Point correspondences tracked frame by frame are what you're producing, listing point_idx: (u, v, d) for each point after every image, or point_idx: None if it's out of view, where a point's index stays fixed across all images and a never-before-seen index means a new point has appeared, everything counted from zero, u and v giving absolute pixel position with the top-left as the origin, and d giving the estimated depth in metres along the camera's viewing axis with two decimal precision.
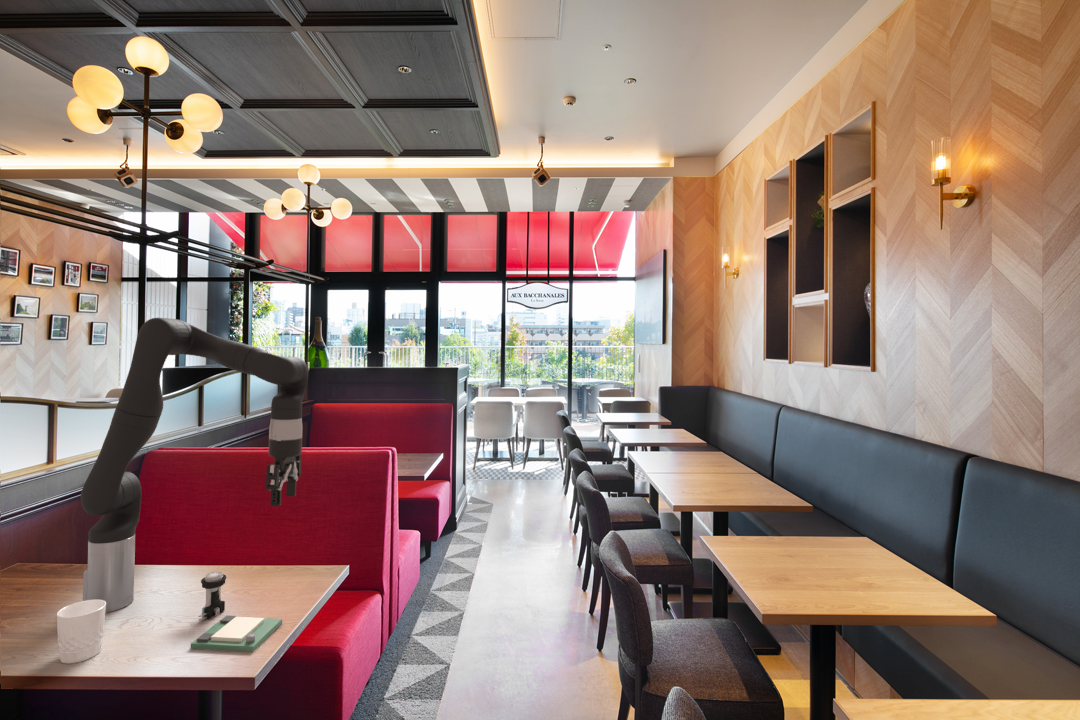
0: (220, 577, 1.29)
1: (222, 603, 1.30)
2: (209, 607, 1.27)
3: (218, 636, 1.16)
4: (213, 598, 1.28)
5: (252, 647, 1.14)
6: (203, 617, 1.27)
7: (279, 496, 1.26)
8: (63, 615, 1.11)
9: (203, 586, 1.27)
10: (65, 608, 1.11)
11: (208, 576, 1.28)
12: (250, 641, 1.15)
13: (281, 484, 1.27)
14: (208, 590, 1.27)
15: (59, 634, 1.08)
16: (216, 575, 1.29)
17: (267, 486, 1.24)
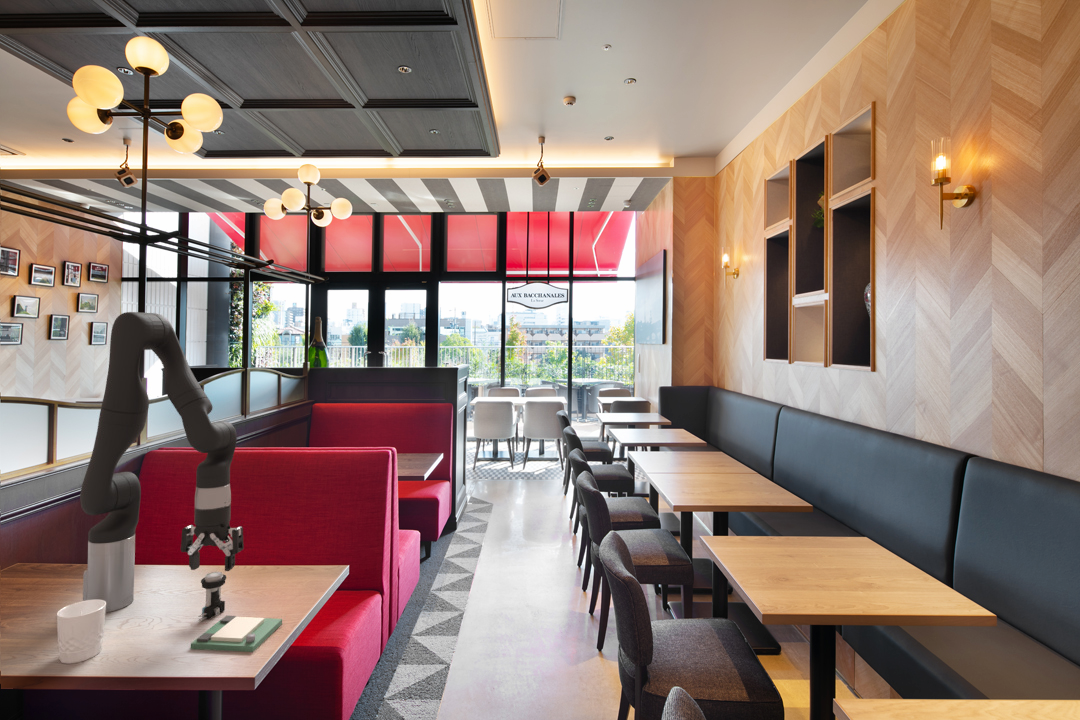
0: (220, 577, 1.29)
1: (222, 603, 1.30)
2: (209, 607, 1.27)
3: (218, 636, 1.16)
4: (213, 598, 1.28)
5: (252, 647, 1.14)
6: (203, 617, 1.27)
7: None
8: (63, 615, 1.11)
9: (203, 586, 1.27)
10: (65, 608, 1.11)
11: (208, 576, 1.28)
12: (250, 641, 1.15)
13: None
14: (208, 590, 1.27)
15: (59, 634, 1.08)
16: (216, 575, 1.29)
17: (238, 549, 1.27)
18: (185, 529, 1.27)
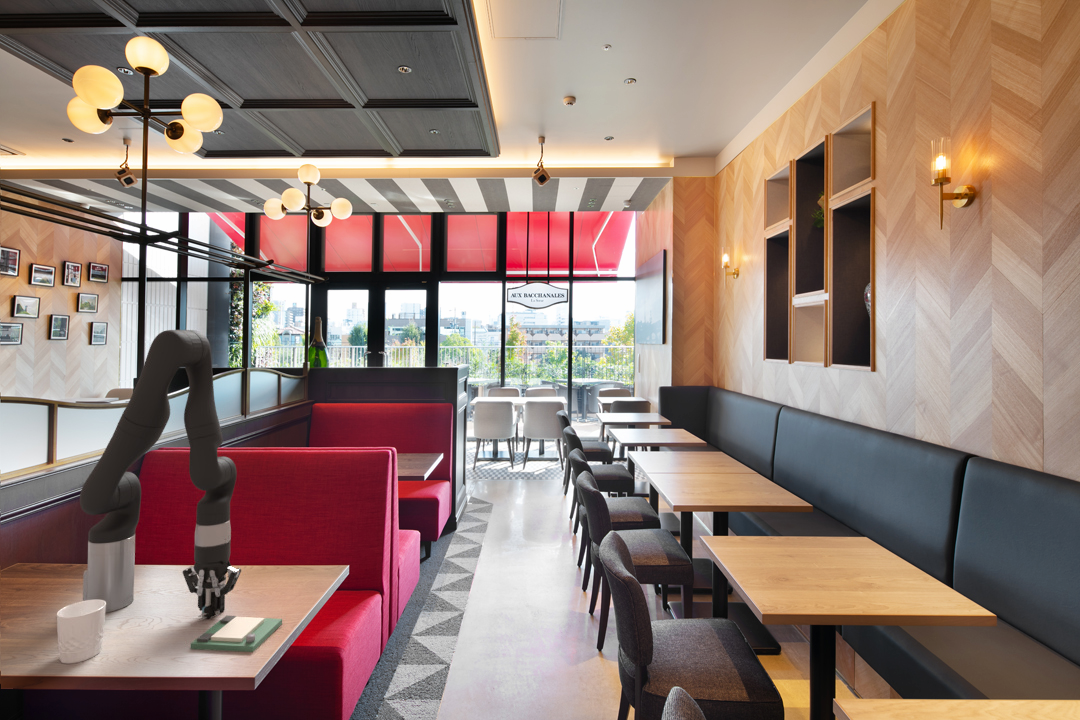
0: None
1: None
2: (209, 607, 1.27)
3: (218, 636, 1.16)
4: (213, 598, 1.28)
5: (252, 647, 1.14)
6: (203, 617, 1.27)
7: None
8: (63, 615, 1.11)
9: (203, 586, 1.27)
10: (65, 608, 1.11)
11: None
12: (250, 641, 1.15)
13: None
14: (208, 590, 1.27)
15: (59, 634, 1.08)
16: None
17: (228, 591, 1.27)
18: (185, 571, 1.27)
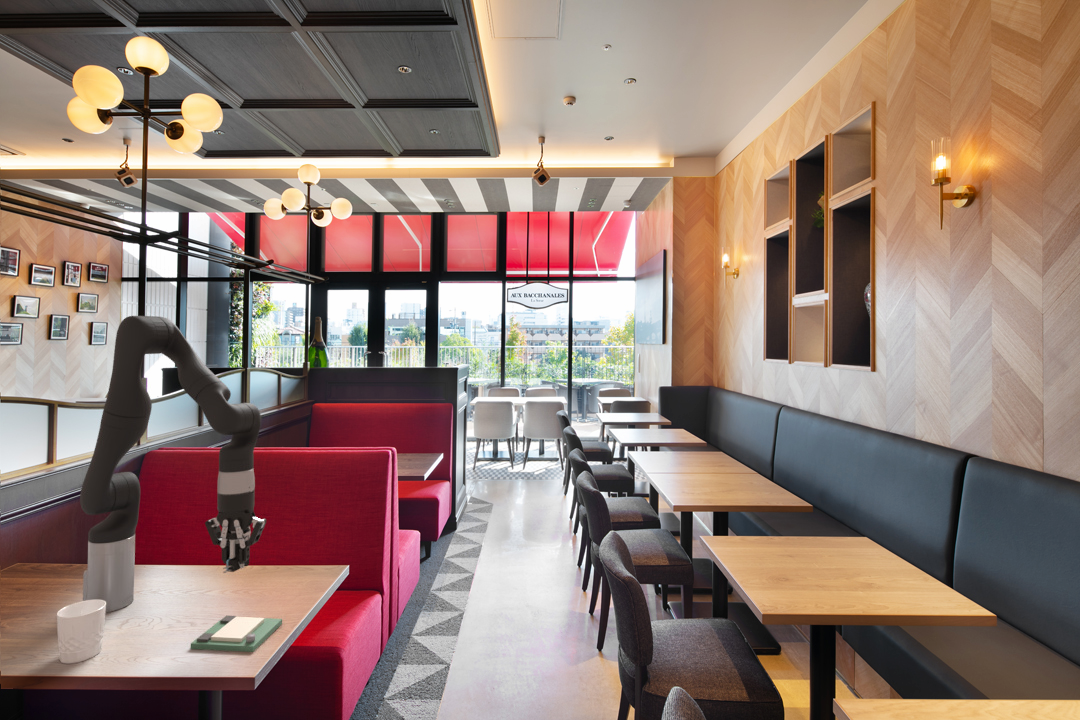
0: None
1: None
2: (233, 559, 1.21)
3: (218, 636, 1.16)
4: (237, 550, 1.22)
5: (252, 647, 1.14)
6: (227, 570, 1.20)
7: None
8: (63, 615, 1.11)
9: (227, 537, 1.21)
10: (65, 608, 1.11)
11: None
12: (250, 641, 1.15)
13: None
14: (232, 541, 1.21)
15: (59, 634, 1.08)
16: None
17: (253, 542, 1.21)
18: (208, 522, 1.21)
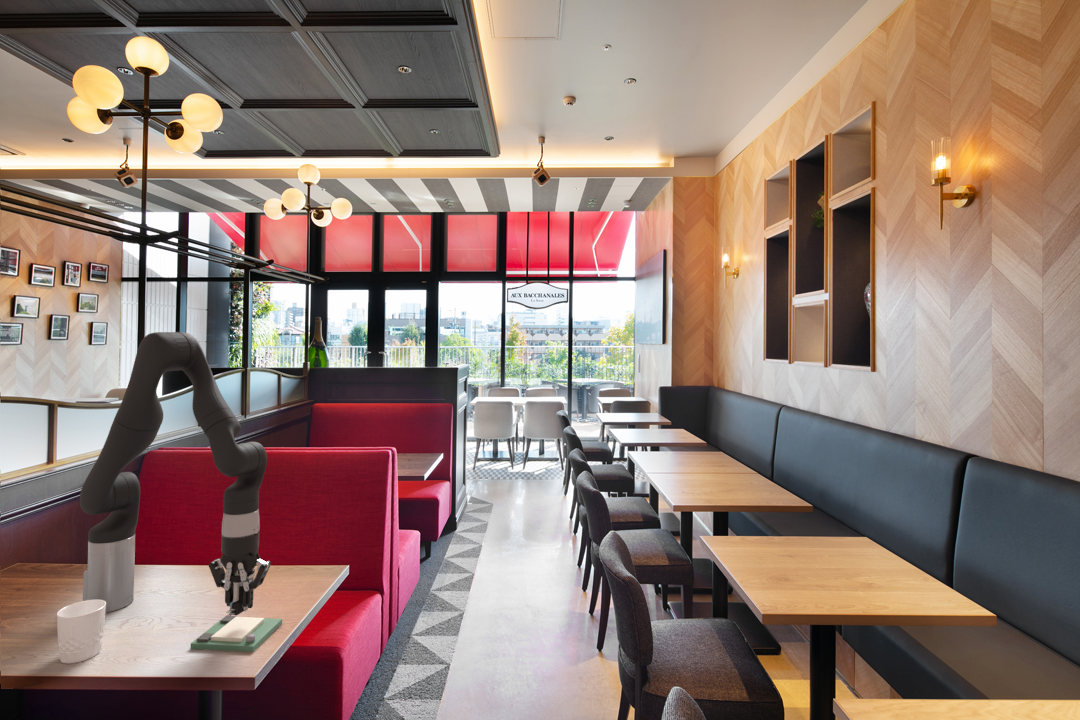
0: None
1: None
2: (237, 602, 1.19)
3: (218, 636, 1.16)
4: (241, 593, 1.20)
5: (252, 647, 1.14)
6: (231, 613, 1.18)
7: None
8: (63, 615, 1.11)
9: (230, 580, 1.19)
10: (65, 608, 1.11)
11: None
12: (250, 641, 1.15)
13: None
14: (236, 584, 1.19)
15: (59, 634, 1.08)
16: None
17: (257, 585, 1.19)
18: (211, 563, 1.19)
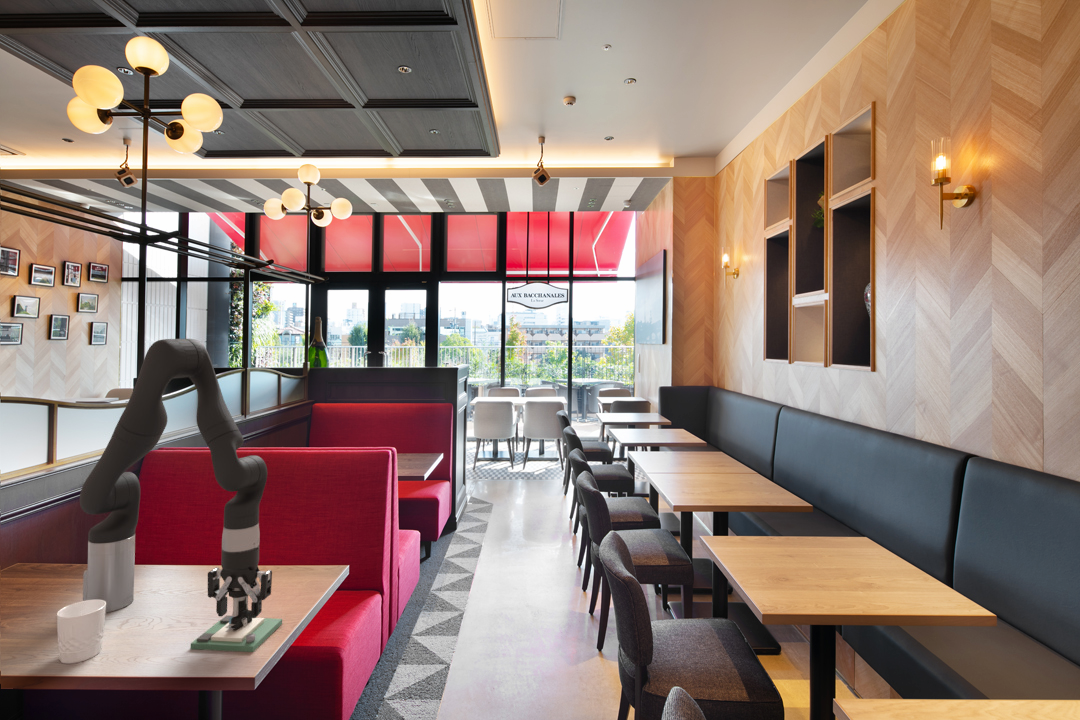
0: None
1: (250, 613, 1.22)
2: (236, 617, 1.19)
3: (218, 636, 1.16)
4: (240, 608, 1.20)
5: (252, 647, 1.14)
6: (230, 628, 1.18)
7: None
8: (63, 615, 1.11)
9: (230, 595, 1.19)
10: (65, 608, 1.11)
11: None
12: (250, 641, 1.15)
13: None
14: (235, 599, 1.19)
15: (59, 634, 1.08)
16: None
17: (265, 595, 1.19)
18: (211, 573, 1.19)
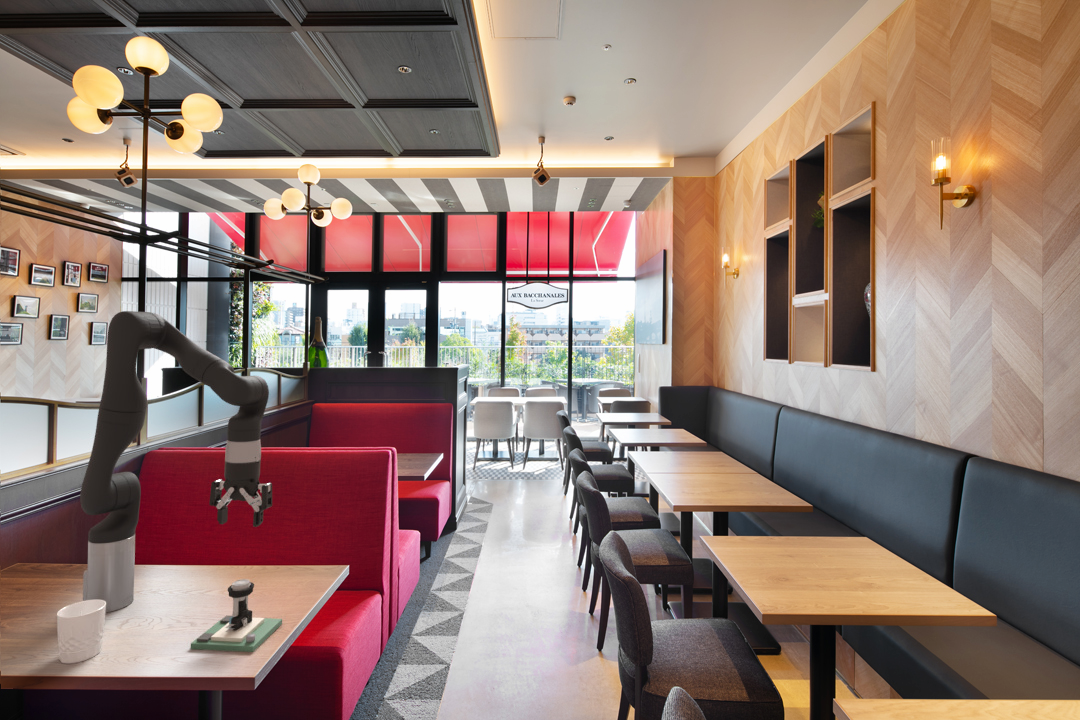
0: (248, 585, 1.21)
1: (250, 613, 1.22)
2: (236, 617, 1.19)
3: (218, 636, 1.16)
4: (240, 608, 1.20)
5: (252, 647, 1.14)
6: (230, 628, 1.18)
7: None
8: (63, 615, 1.11)
9: (230, 595, 1.19)
10: (65, 608, 1.11)
11: (235, 584, 1.20)
12: (250, 641, 1.15)
13: None
14: (235, 599, 1.19)
15: (59, 634, 1.08)
16: (244, 583, 1.20)
17: (267, 505, 1.25)
18: (214, 483, 1.26)
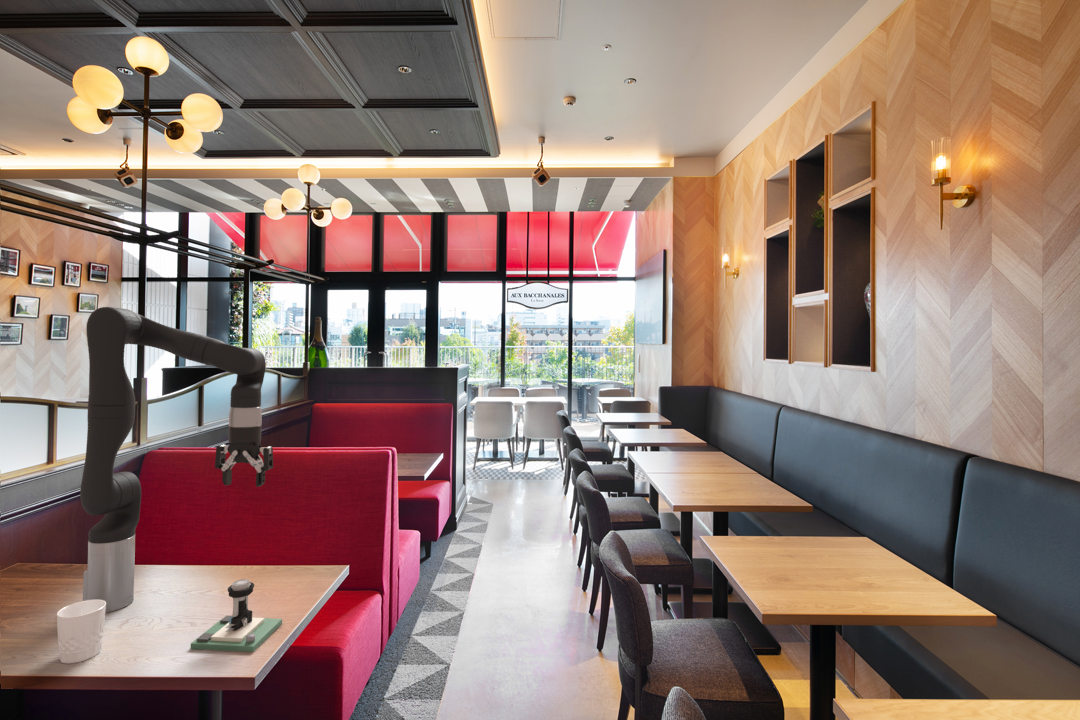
0: (248, 585, 1.21)
1: (250, 613, 1.22)
2: (236, 617, 1.19)
3: (218, 636, 1.16)
4: (240, 608, 1.20)
5: (252, 647, 1.14)
6: (230, 628, 1.18)
7: None
8: (63, 615, 1.11)
9: (230, 595, 1.19)
10: (65, 608, 1.11)
11: (235, 584, 1.20)
12: (250, 641, 1.15)
13: None
14: (235, 599, 1.19)
15: (59, 634, 1.08)
16: (244, 583, 1.20)
17: (268, 466, 1.36)
18: (219, 447, 1.36)
